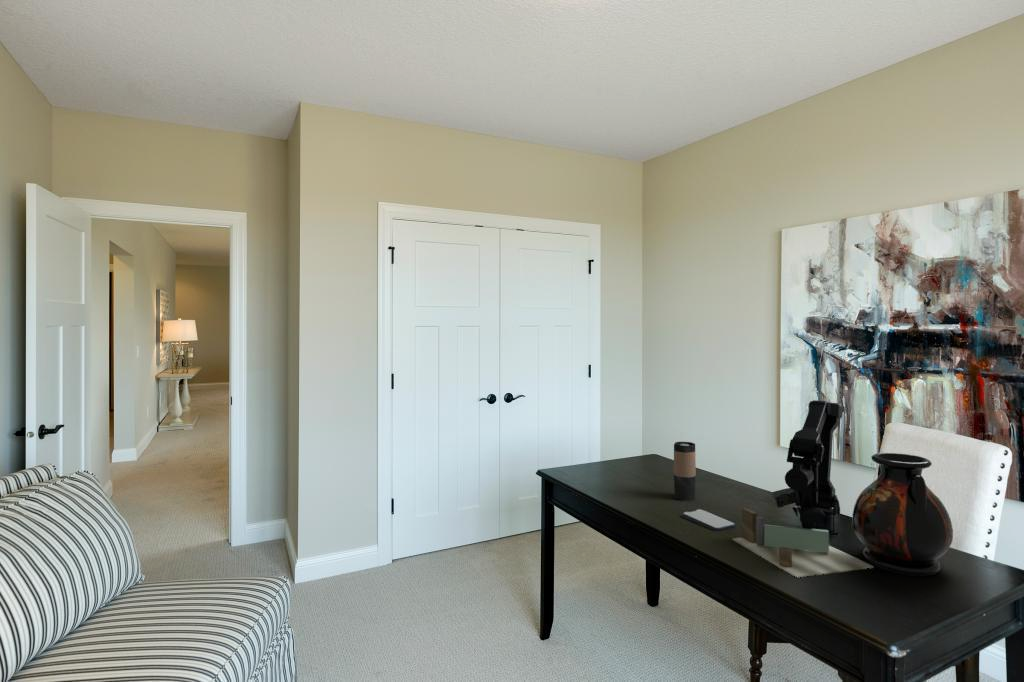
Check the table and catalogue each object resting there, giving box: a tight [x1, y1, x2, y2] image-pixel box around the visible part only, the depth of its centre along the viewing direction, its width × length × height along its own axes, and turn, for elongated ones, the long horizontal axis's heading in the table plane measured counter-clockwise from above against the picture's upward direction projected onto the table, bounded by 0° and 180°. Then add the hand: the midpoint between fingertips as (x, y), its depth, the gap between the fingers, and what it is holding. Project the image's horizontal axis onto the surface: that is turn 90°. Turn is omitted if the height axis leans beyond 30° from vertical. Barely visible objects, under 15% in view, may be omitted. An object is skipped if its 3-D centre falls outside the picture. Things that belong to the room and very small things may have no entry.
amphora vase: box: [852, 452, 954, 577], centre depth 146 cm, size 22×22×28 cm
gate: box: [756, 516, 830, 552], centre depth 156 cm, size 18×2×8 cm, turn 71°
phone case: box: [681, 508, 737, 532], centre depth 180 cm, size 9×2×16 cm
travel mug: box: [673, 441, 697, 501], centre depth 205 cm, size 8×8×20 cm
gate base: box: [732, 507, 875, 579], centre depth 154 cm, size 23×26×9 cm
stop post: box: [779, 547, 792, 567], centre depth 146 cm, size 3×3×4 cm
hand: (805, 536), depth 157 cm, fingers closed
